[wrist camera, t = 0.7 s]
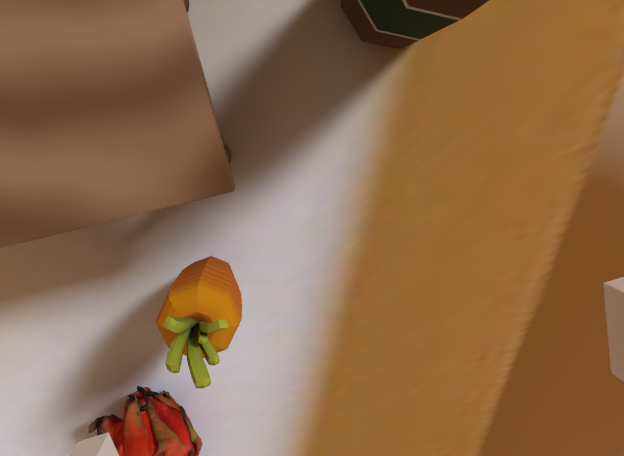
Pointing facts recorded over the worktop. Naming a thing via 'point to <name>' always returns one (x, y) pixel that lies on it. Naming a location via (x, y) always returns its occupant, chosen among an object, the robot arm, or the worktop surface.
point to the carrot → (200, 316)
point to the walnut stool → (101, 115)
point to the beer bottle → (404, 18)
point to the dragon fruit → (150, 427)
